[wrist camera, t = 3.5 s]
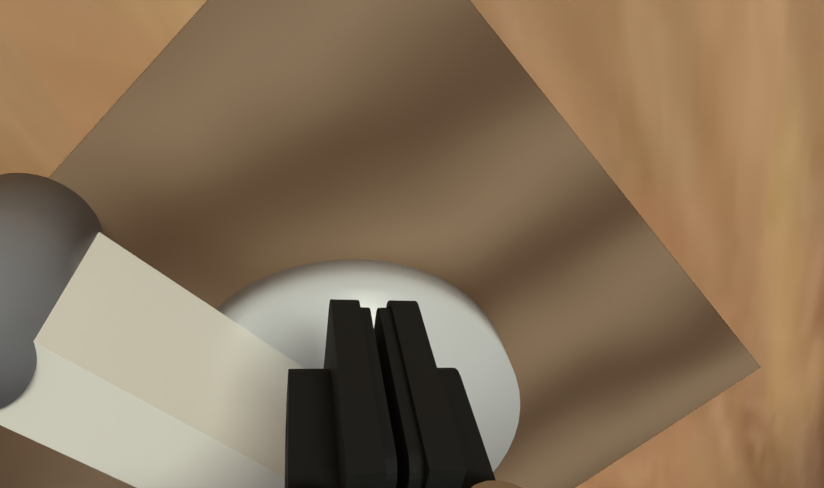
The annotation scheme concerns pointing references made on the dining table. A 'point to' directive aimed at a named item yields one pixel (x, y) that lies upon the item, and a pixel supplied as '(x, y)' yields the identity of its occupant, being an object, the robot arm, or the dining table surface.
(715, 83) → the dining table surface
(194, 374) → the dial
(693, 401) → the dial plate
